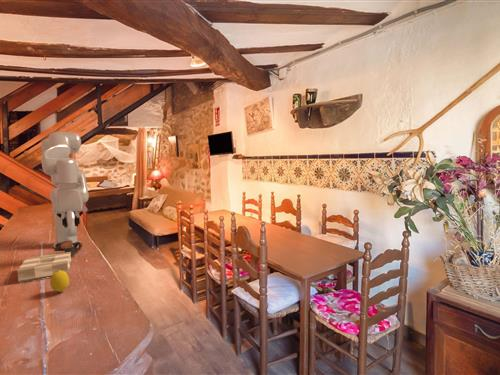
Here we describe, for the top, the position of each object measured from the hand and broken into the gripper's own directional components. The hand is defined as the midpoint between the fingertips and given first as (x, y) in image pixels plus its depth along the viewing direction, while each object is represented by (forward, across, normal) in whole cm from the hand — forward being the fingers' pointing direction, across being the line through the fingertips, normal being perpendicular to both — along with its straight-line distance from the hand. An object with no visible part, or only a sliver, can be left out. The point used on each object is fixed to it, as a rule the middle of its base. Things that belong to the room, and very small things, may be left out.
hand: (71, 226), depth 136 cm
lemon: (+14, +2, +38) cm, 41 cm away
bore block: (+15, +9, +14) cm, 22 cm away
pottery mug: (+16, +3, -8) cm, 18 cm away
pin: (+4, 0, 0) cm, 4 cm away
